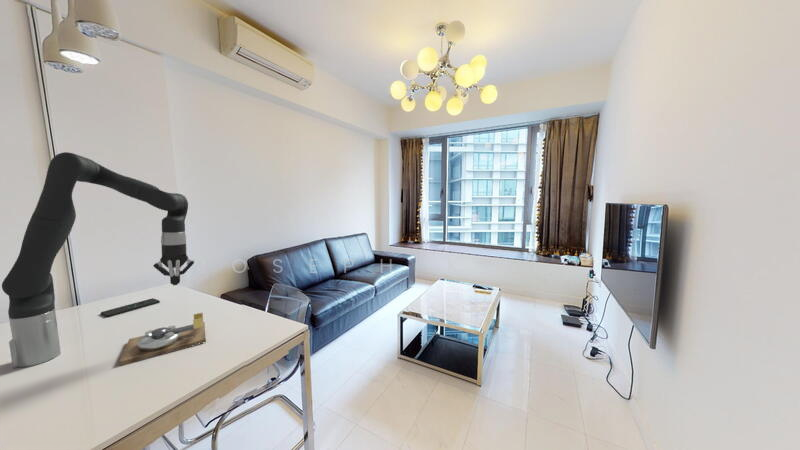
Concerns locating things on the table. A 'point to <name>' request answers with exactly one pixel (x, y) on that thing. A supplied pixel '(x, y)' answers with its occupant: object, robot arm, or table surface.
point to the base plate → (185, 340)
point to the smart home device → (129, 307)
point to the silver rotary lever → (166, 335)
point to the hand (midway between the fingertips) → (175, 284)
